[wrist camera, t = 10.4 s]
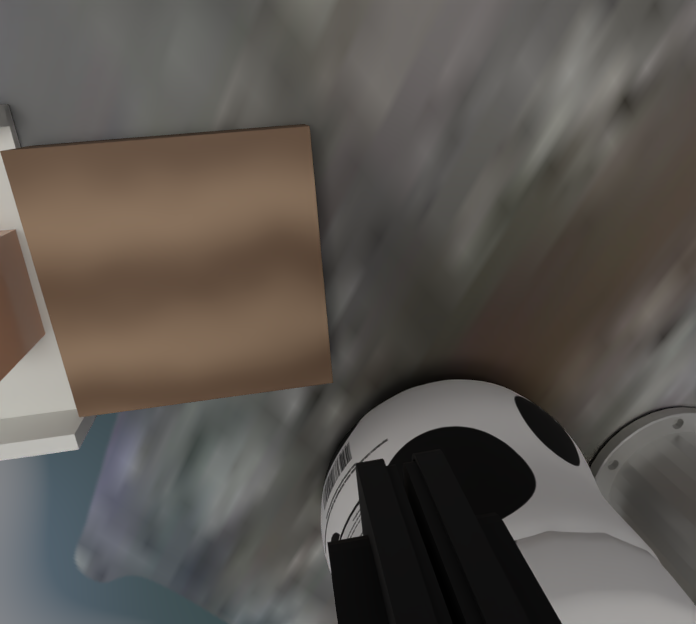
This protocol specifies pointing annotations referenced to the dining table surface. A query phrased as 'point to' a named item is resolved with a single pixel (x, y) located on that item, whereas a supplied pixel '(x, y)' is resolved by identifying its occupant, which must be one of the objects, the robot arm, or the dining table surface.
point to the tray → (34, 359)
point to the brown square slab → (178, 264)
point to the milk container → (515, 497)
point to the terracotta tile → (16, 305)
